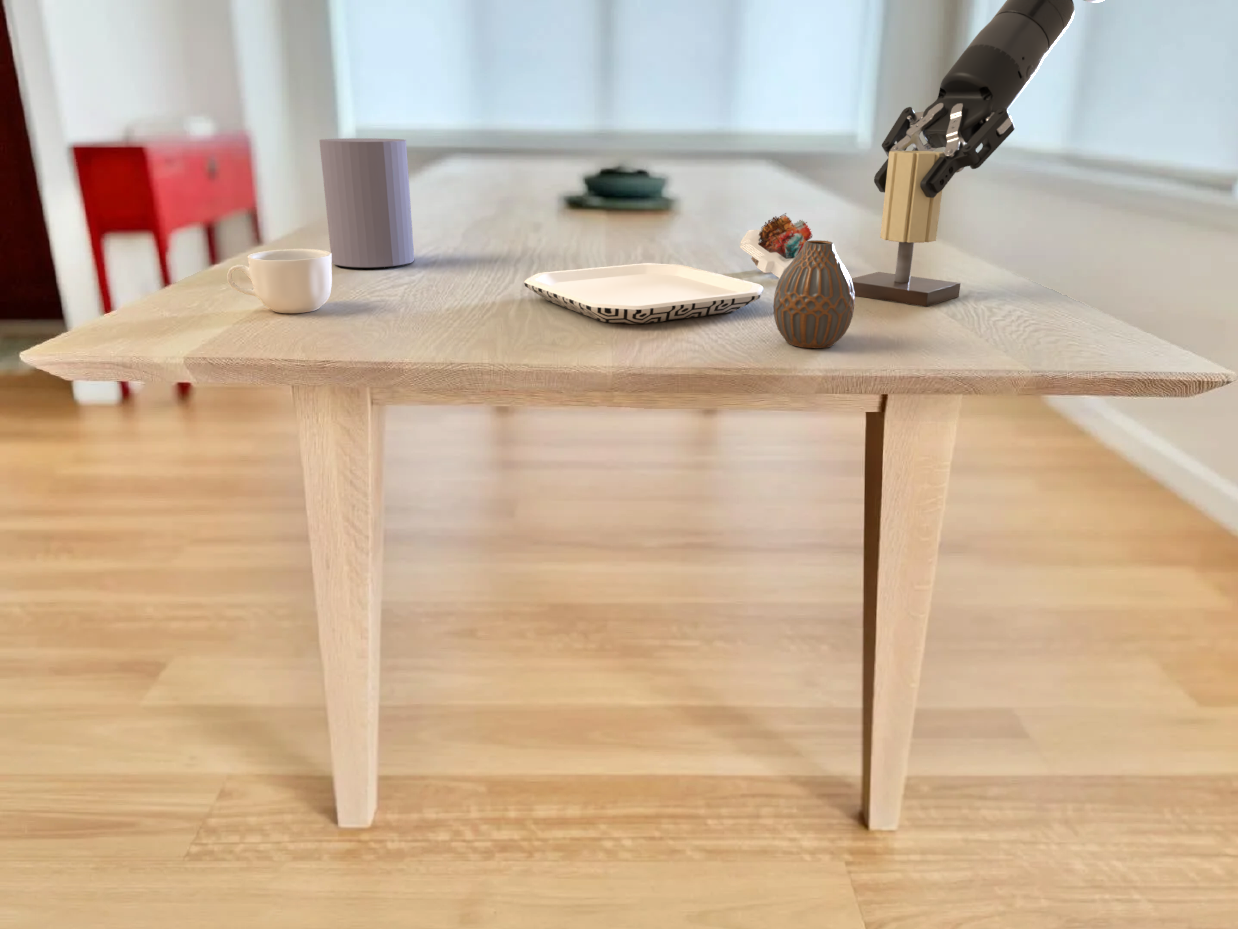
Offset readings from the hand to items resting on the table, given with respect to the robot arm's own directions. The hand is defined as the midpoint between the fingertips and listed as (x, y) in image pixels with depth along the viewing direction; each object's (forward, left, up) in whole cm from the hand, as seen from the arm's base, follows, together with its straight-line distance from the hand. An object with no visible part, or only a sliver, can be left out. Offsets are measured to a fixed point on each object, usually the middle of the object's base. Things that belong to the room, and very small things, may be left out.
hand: (902, 189), depth 98 cm
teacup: (+40, +50, -12) cm, 65 cm away
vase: (-5, +25, -12) cm, 28 cm away
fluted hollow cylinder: (0, -2, -5) cm, 6 cm away
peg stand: (0, -2, -11) cm, 11 cm away
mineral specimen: (+18, -6, -12) cm, 22 cm away
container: (+58, +28, -12) cm, 65 cm away
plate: (+17, +22, -12) cm, 30 cm away
